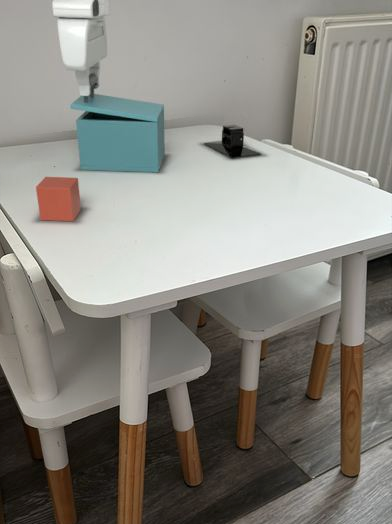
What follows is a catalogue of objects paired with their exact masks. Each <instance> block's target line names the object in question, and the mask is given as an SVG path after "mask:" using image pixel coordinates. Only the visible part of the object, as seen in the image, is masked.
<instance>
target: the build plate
mask: <svg viewBox="0 0 392 524" xmlns="http://www.w3.org/2000/svg"><path fill="white" fill-rule="evenodd" d="M244 138H245V133H244V127H241V126H239V125H237V124H227V125H223V126H222V130H221V140H217V141H209V142H204V146H207V147H209V148H210V149H212V150H214V151H216V152H218V153H220V154H222V155H223V156H226V157H227V158H229V159H231V160H232V159H233V160H234V159H241V158H242V159H243V158H250V157H259V156H262V153H261V152H259V151H257V150H255V149H253V148H251V147H249V146H247V145H244V142H245V141H244Z"/></svg>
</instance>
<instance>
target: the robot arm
mask: <svg viewBox="0 0 392 524" xmlns="http://www.w3.org/2000/svg"><path fill="white" fill-rule="evenodd" d="M110 2H111V0H52V4H51V8H52V16H53V17H54V18H57V21H56V23H57V24H56V25H57V34H58V41H59V48H60V54H61V55H60V56H61V60H62V63H63V66H64V69H65V70H67V71H71V72H74V73H75V74H74V75H75V78H76V82H77V85H78V94H79V95H80V96H88V95H90V93H91V85H90V84H89V74H91V73H93V74H95V75H96V76H97V78H98V81H97V83H96V84H94V90H96V89H98V88H99V87H100V72H101V61H102V60H104V59H105V58H107V56H108V40H107V39H108V38H107V29H106V20H105V19H106V18H105V17H106V16H110V15H111V3H110Z"/></svg>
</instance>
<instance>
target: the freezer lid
mask: <svg viewBox="0 0 392 524" xmlns="http://www.w3.org/2000/svg"><path fill="white" fill-rule="evenodd" d="M88 75H89V84H90V85H91V93H90V95H88V96H81V95H80V96H79V97H78V98H76V99H75V100H74V101H73V102H72V103H70V109H71V110H77V111H81V112H82V111H83V112H85V111H88V112H95V113H101V114H108V115H114V116H121V117H127V118H133V119H140V120H146V121H153V122H157V121H158V119H159V117H160V115H161V113H162V111H163V109H164V110H165V104H162V103H156V102H149V101H144V100H137V99H131V98H124V97H119V96H111V95H104V94H98V93H95V89H94V84H96V83H97V81H98V78H97V76H96V75H95V74H93V73H91V74H88Z"/></svg>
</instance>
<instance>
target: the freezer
mask: <svg viewBox="0 0 392 524" xmlns="http://www.w3.org/2000/svg"><path fill="white" fill-rule="evenodd" d="M75 124H76V134H77V144H78V157H79V164H80V170H81V171H106V172H107V171H108V172H110V171H111V172H133V173H134V172H138V173H139V172H141V173H159V171H160V169H161V167H162V163H163V161H164V158H165V156H166V153H165V150H166V147H165V144H166V143H165V108H164V109H163V111H162V113H161V115H160V117H159V119H158V121H157V122H153V121H146V120H140V119H133V118H127V117H121V116H114V115H108V114H101V113H95V112H88V111H83V113H82V114H80V116H79V117H78V118H77V119H75Z"/></svg>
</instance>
